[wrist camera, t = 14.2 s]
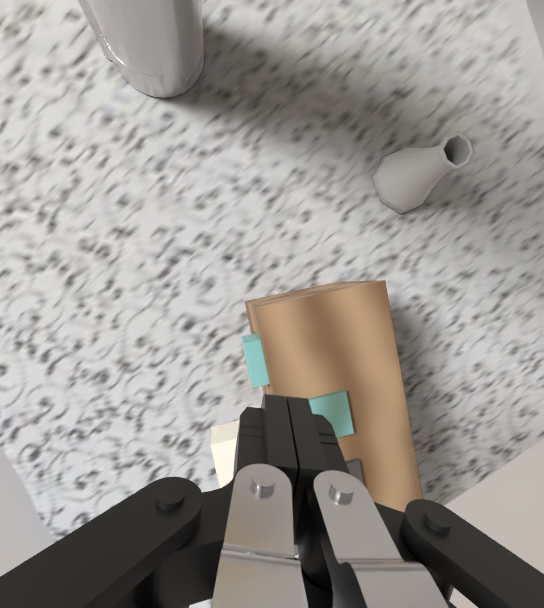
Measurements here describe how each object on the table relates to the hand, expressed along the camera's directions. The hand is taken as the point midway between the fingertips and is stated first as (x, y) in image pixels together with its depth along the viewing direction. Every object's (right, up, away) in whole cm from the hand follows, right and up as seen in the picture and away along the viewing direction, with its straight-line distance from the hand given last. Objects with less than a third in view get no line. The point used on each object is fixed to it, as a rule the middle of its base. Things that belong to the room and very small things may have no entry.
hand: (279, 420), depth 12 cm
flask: (+15, +18, +30) cm, 39 cm away
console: (+5, -7, +30) cm, 31 cm away
